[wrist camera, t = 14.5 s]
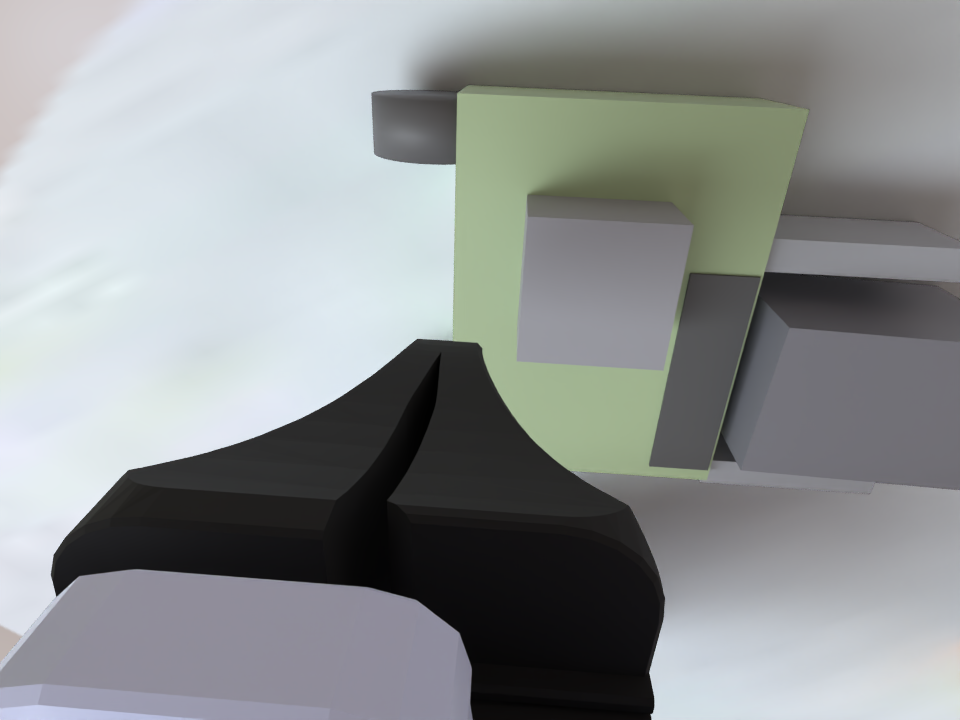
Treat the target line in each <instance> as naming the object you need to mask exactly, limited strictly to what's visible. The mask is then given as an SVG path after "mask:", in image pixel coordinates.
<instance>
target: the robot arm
mask: <svg viewBox="0 0 960 720" xmlns="http://www.w3.org/2000/svg"><path fill="white" fill-rule="evenodd" d="M482 350H483V348H482V347H481V346H480V345H479V344H478V343H475V342H458V341H442V340H426V339H417V340H415V341H414V342H413V343H412V344H410V345H409V346H408V347H407V348H406V349H404V350H403V351H402V352H401V353H400V354H398V355H397V356H396V357H395V358H394V359H392V360H391V361H390V362H389V363H387V364H386V365H385V366H384V367H382V368H381V369H380V370H379V371H377V372H376V373H375V374H373V375H372V376H371V377H369V378H368V379H366V380H365V381H363V382H362V383H361V384H359V385H358V386H356V387H355V388H353V389H352V390H350V391H349V392H347V393H346V394H344V395H343V396H341V397H340V398H338V399H336V400H335V401H333V402H331V403H330V404H328V405H326V406H324V407H322V408H320V409H319V410H317V411H315V412H313V413H311V414H309V415H307V416H305V417H303V418H301V419H299V420H296V421H294V422H292V423H289V424H287V425H284V426H282V427H280V428H277V429H275V430H272V431H270V432H268V433H265V434H263V435H260V436H258V437H255V438H252V439H249V440H246V441H243V442H240V443H237V444H234V445H231V446H228V447H225V448H221V449H218V450H214V451H211V452H208V453H204V454H200V455H196V456H193V457H188V458H184V459H179V460H175V461H170V462H166V463H161V464H157V465H152V466H147V467H143V468H137V469H132V470H128V471H127V472H126V473H125V474H124V475H123V476H122V477H121V478H120V479H119V480H118V481H117V482H116V484H115V485H114V486H113V487H112V488H111V489H110V490H109V491H108V492H107V493H106V494H105V495H104V496H103V498H102V499H101V500H100V501H99V502H98V503H97V504H96V505H95V506H94V507H93V508H92V509H91V510H90V512H89V513H88V514H87V515H86V516H85V517H84V518H83V519H82V520H81V521H80V522H79V523H78V525H77V526H76V527H75V528H74V529H73V530H72V531H71V532H70V533H69V534H68V535H67V536H66V537H65V539H64V540H63V542H62V543H61V545H60V546H59V548H58V549H57V551H56V552H55V554H54V557H53V564H52V571H51V577H52V581H53V585H54V589H55V593H56V598H55V599H54V600H53V601H52V602H51V603H50V604H49V606H48V607H47V608H46V609H45V610H44V611H43V613H42V614H41V615H40V616H39V617H38V619H37V620H36V621H35V622H34V623H33V625H32V626H31V627H30V628H29V629H28V630H27V632H26V633H25V634H24V635H23V636H22V638H21V639H20V640H19V641H18V642H17V643H16V645H15V646H14V647H13V648H12V649H11V651H10V652H9V653H8V654H7V655H6V657H5V658H4V659H3V660H2V661H1V663H0V720H651V715H650V714H652V713H653V710H654V694H653V689H652V685H651V680H650V675H649V670H650V667H651V663H652V659H653V656H654V652H655V648H656V645H657V641H658V637H659V633H660V630H661V626H662V622H663V618H664V604H665V597H664V594H663V588H662V583H661V579H660V576H659V572H658V569H657V566H656V564H655V561H654V558H653V556H652V553H651V551H650V548H649V546H648V544H647V542H646V539H645V537H644V535H643V533H642V530H641V528H640V526H639V524H638V522H637V520H636V518H635V516H634V514H633V512H632V510H631V508H630V507H629V506H628V505H626V504H624V503H623V502H621V501H619V500H617V499H615V498H613V497H612V496H610V495H608V494H606V493H604V492H602V491H601V490H599V489H597V488H595V487H593V486H591V485H590V484H588V483H586V482H585V481H583V480H582V479H580V478H579V477H578V476H576V475H575V474H573V473H572V472H570V471H569V470H567V469H566V468H565V467H563V466H562V465H561V464H559V463H558V462H557V461H556V460H554V459H553V458H552V457H551V456H550V455H549V454H548V453H546V452H545V451H544V450H543V449H542V448H541V447H540V446H539V445H537V444H536V442H535V441H534V440H533V439H532V438H531V437H530V436H529V435H528V434H527V433H526V431H525V430H524V429H523V428H522V427H521V425H520V424H519V423H518V422H517V420H516V419H515V417H514V416H513V415H512V413H511V412H510V410H509V409H508V407H507V406H506V404H505V403H504V401H503V399H502V398H501V396H500V394H499V393H498V391H497V389H496V387H495V385H494V383H493V381H492V379H491V377H490V374H489V372H488V370H487V367H486V364H485V361H484V358H483V353H482Z"/></svg>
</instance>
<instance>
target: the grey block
mask: <svg viewBox="0 0 960 720" xmlns="http://www.w3.org/2000/svg"><path fill="white" fill-rule="evenodd" d="M721 433H722V435H723V437H724V439H725V441H726V443H727V445H728V447H729V449H730V450H731V452H732V454H733V456H734V458H735V460H736V462H737V464H738V466H739V468H740V470H742V471H754V472H765V473H776V474H787V475H798V476H809V477H820V478H831V479H842V480H853V481H864V482H876V483H887V484H898V485H909V486H920V487H931V488H942V489H953V490H960V299H959V298H957V297H955V296H953V295H952V294H950V293H948V292H947V291H945V290H943V289H941V288H940V287H938V286H931V285H919V284H907V283H895V282H883V281H870V280H858V279H846V278H834V277H822V276H810V275H798V274H786V273H774V272H764V276H763V279H762V283H761V286H760V290H759V294H758V297H757V301H756V305H755V308H754V312H753V315H752V319H751V323H750V326H749V330H748V333H747V337H746V341H745V344H744V348H743V352H742V355H741V359H740V362H739V366H738V370H737V373H736V377H735V380H734V384H733V388H732V391H731V395H730V399H729V402H728V406H727V409H726V413H725V417H724V420H723V424H722V427H721Z"/></svg>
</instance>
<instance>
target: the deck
mask: <svg viewBox="0 0 960 720" xmlns="http://www.w3.org/2000/svg"><path fill="white" fill-rule="evenodd" d="M808 113H809V109H805V108H801V107H796V106H792V105H787V104H783V103H779V102H774V101H770V100H766V99H761V98H741V97H719V96H697V95H675V94H653V93H631V92H609V91H587V90H566V89H544V88H522V87H500V86H478V85H467V86H466V87H465V88H463V89H462V90H461V91H459V92H454V91H433V90H389V91H377V92H373V93H372V117H373V140H374V154H375V155H377V156H379V157H381V158H384V159H388V160H393V161H399V162H407V163H418V164H442V165H446V164H456V186H455V241H454V297H453V341H458V342H475V343H478V344H479V345H480V346H481V347H482V348H483V350H482V353H483V358H484V361H485V364H486V367H487V370H488V372H489V374H490V377H491V379H492V381H493V383H494V385H495V387H496V389H497V391H498V393H499V394H500V396H501V398H502V399H503V401H504V403H505V404H506V406H507V407H508V409H509V410H510V412H511V413H512V415H513V416H514V417H515V419H516V420H517V422H518V423H519V424H520V425H521V427H522V428H523V429H524V430H525V431H526V433H527V434H528V435H529V436H530V437H531V438H532V439H533V440H534V441H535V442H536V444H537V445H539V446H540V447H541V448H542V449H543V450H544V451H545V452H546V453H548V454H549V455H550V456H551V457H552V458H553V459H554V460H556V461H557V462H558V463H559V464H561V465H562V466H563V467H565V468H566V469H567V470H569V471H581V472H595V473H609V474H624V475H638V476H652V477H667V478H681V479H696V480H699V481H700V482H704V483H718V484H733V485H747V486H762V487H776V488H790V489H805V490H819V491H833V492H848V493H862V494H870V493H871V491H872V488H873V486H874V484H875V482H864V481H853V480H842V479H831V478H820V477H809V476H798V475H787V474H776V473H765V472H754V471H742V470H740V468H739V466H738V464H737V462H736V460H735V458H734V456H733V454H732V452H731V450H730V449H729V447H728V445H727V443H726V441H725V439H724V437H723V435H722V433H721V427H722V424H723V420H724V417H725V413H726V409H727V406H728V402H729V399H730V395H731V391H732V388H733V384H734V380H735V377H736V373H737V370H738V366H739V362H740V359H741V355H742V352H743V348H744V344H745V341H746V337H747V333H748V330H749V326H750V323H751V319H752V315H753V312H754V308H755V305H756V301H757V297H758V294H759V290H760V286H761V283H762V279H763V276H764V272H780V273H798V274H816V275H834V276H851V277H869V278H887V279H904V280H922V281H940V282H958V283H960V241H958V240H956V239H954V238H952V237H949V236H947V235H945V234H943V233H940V232H938V231H936V230H934V229H932V228H929V227H927V226H925V225H923V224H921V223H918V222H904V221H885V220H867V219H848V218H829V217H810V216H791V215H780V214H781V210H782V207H783V203H784V200H785V196H786V192H787V189H788V185H789V182H790V178H791V174H792V171H793V167H794V163H795V160H796V156H797V153H798V149H799V145H800V142H801V138H802V135H803V131H804V127H805V124H806V120H807V116H808Z"/></svg>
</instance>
